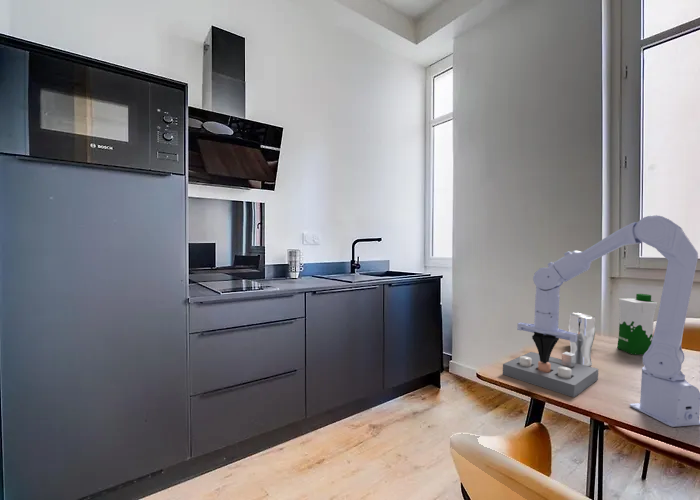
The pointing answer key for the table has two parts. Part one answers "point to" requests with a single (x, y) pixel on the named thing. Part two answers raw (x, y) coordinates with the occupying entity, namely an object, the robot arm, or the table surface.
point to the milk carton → (636, 324)
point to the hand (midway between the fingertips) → (544, 361)
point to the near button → (564, 372)
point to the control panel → (552, 375)
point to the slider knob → (568, 359)
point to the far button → (525, 361)
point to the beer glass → (582, 337)
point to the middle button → (544, 367)
